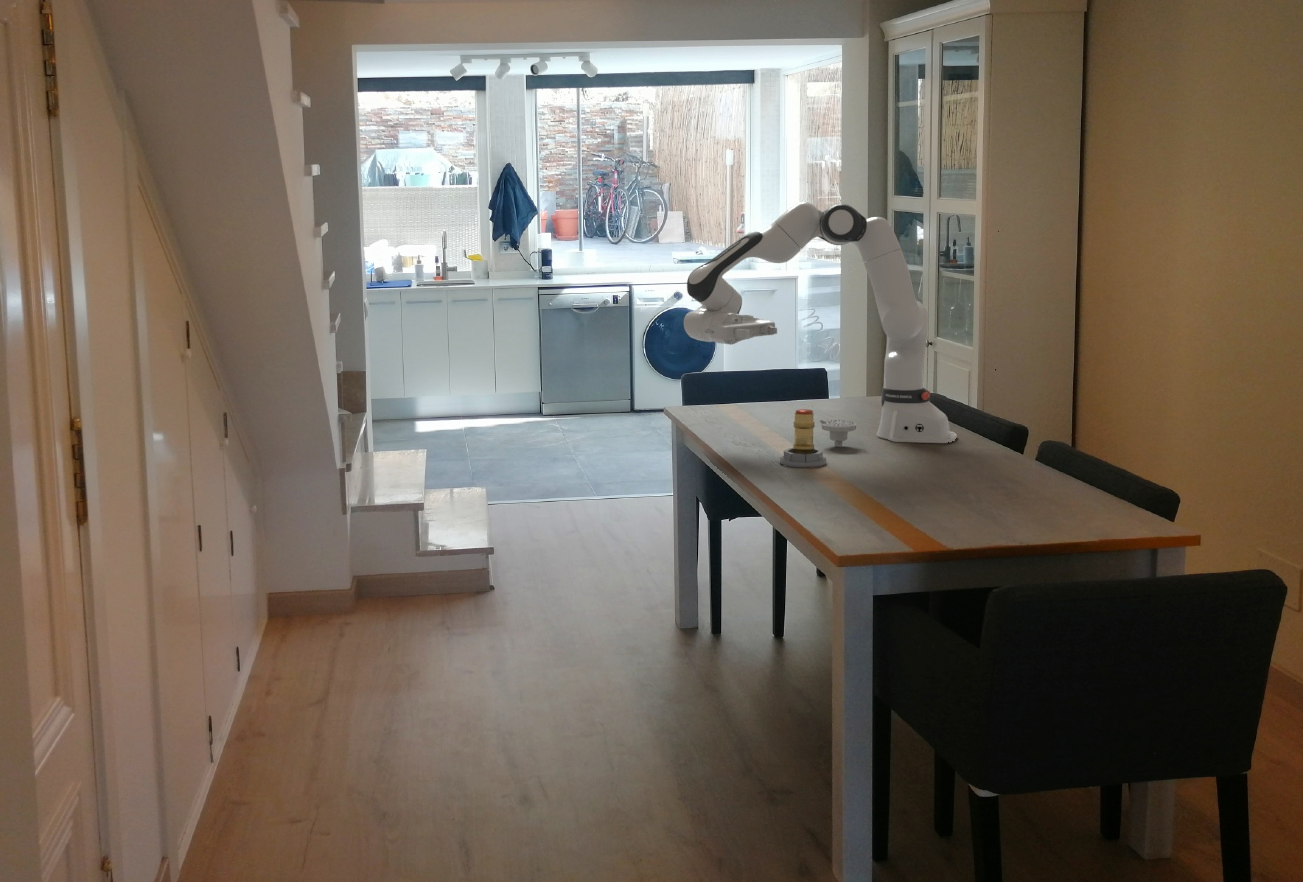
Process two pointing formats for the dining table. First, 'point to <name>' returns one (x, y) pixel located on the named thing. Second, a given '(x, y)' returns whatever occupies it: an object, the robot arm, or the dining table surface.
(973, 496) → the dining table surface
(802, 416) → the cylinder
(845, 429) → the showerhead
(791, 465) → the flange fitting
